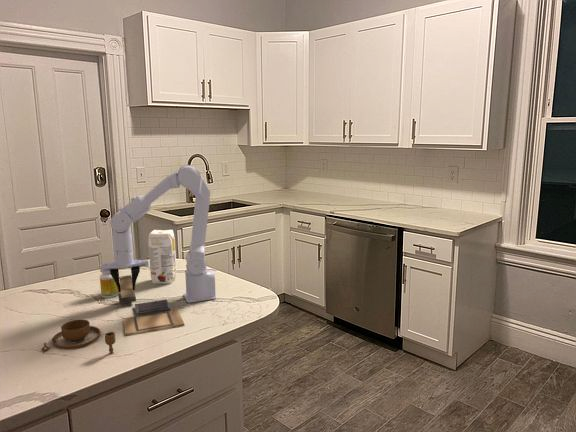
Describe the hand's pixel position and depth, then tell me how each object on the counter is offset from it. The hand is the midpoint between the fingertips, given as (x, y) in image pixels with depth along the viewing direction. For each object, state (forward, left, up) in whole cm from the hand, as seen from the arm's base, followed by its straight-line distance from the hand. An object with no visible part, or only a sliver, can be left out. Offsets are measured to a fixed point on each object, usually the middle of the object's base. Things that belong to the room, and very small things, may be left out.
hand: (126, 290), depth 144 cm
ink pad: (-7, +8, -4) cm, 11 cm away
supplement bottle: (+5, -10, -5) cm, 12 cm away
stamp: (0, 0, -3) cm, 3 cm away
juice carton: (-14, -17, -5) cm, 22 cm away
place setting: (+14, +25, -5) cm, 29 cm away
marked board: (-6, +18, -4) cm, 20 cm away
